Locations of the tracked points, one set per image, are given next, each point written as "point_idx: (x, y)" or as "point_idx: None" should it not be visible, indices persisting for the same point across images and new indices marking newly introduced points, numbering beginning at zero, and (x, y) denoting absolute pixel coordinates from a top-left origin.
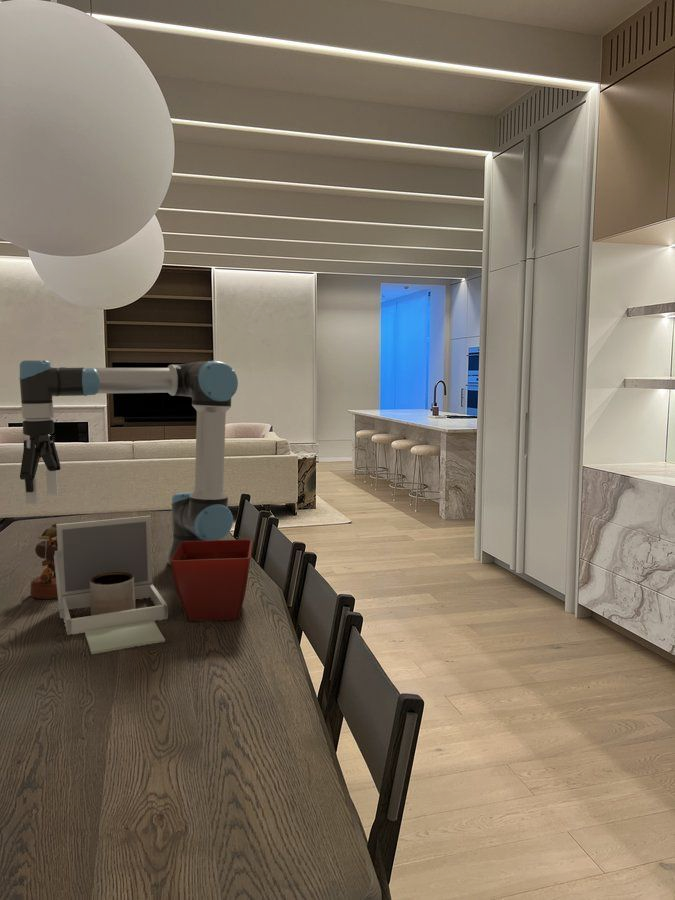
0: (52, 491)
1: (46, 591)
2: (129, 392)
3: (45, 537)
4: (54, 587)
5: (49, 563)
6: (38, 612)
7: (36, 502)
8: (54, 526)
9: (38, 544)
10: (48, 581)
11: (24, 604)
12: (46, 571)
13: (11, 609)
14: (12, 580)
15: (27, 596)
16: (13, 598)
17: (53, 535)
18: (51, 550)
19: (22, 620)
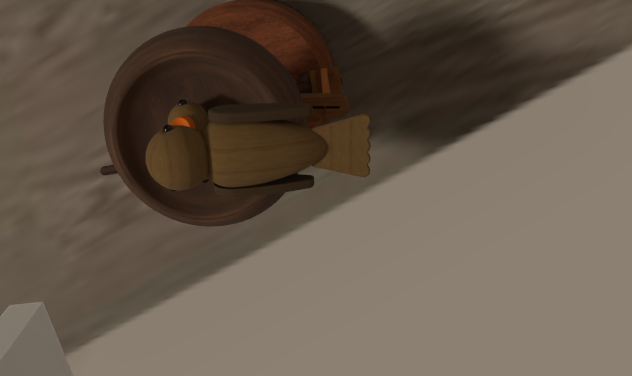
0: (46, 373)
1: (332, 65)
2: None
3: (354, 135)
4: (317, 37)
5: (300, 93)
6: (472, 14)
7: None
8: (203, 160)
9: (258, 205)
10: (309, 75)
11: (384, 119)
12: (327, 87)
13: (440, 136)
14: (135, 300)
15: None
16: (323, 193)
17: (298, 106)
18: (294, 100)
19: (561, 30)
